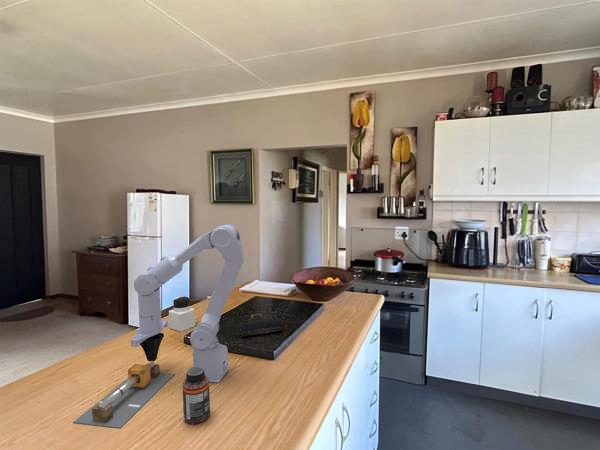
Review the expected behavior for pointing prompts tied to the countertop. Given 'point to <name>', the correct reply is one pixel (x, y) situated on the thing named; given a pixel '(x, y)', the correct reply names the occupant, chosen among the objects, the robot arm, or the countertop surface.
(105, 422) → the pipe rig
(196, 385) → the supplement bottle
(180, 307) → the medicine bottle
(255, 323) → the pipe connector
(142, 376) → the collar
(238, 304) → the countertop surface
